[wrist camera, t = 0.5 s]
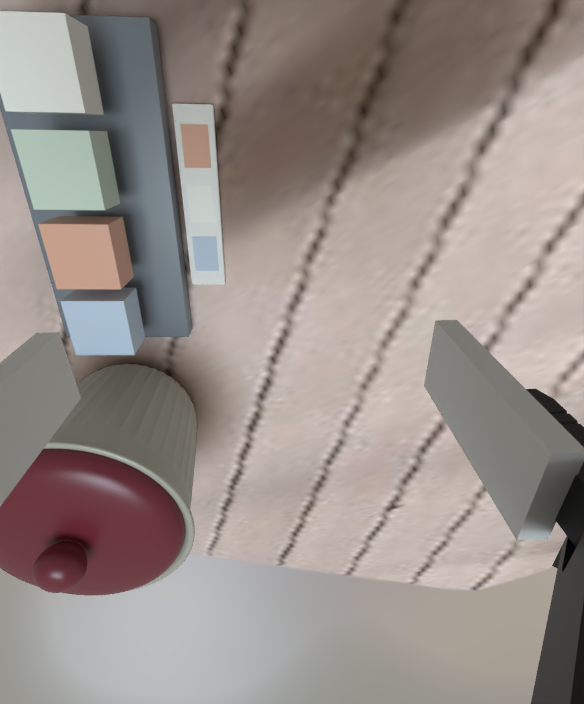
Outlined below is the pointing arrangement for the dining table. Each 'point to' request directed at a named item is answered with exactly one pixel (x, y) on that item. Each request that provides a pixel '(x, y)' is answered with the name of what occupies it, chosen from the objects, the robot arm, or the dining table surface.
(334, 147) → the dining table surface
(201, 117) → the card
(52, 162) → the key sage
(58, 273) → the key terracotta
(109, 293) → the key blue
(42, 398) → the robot arm
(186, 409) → the canister
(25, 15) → the key ivory
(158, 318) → the keypad board
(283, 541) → the dining table surface
